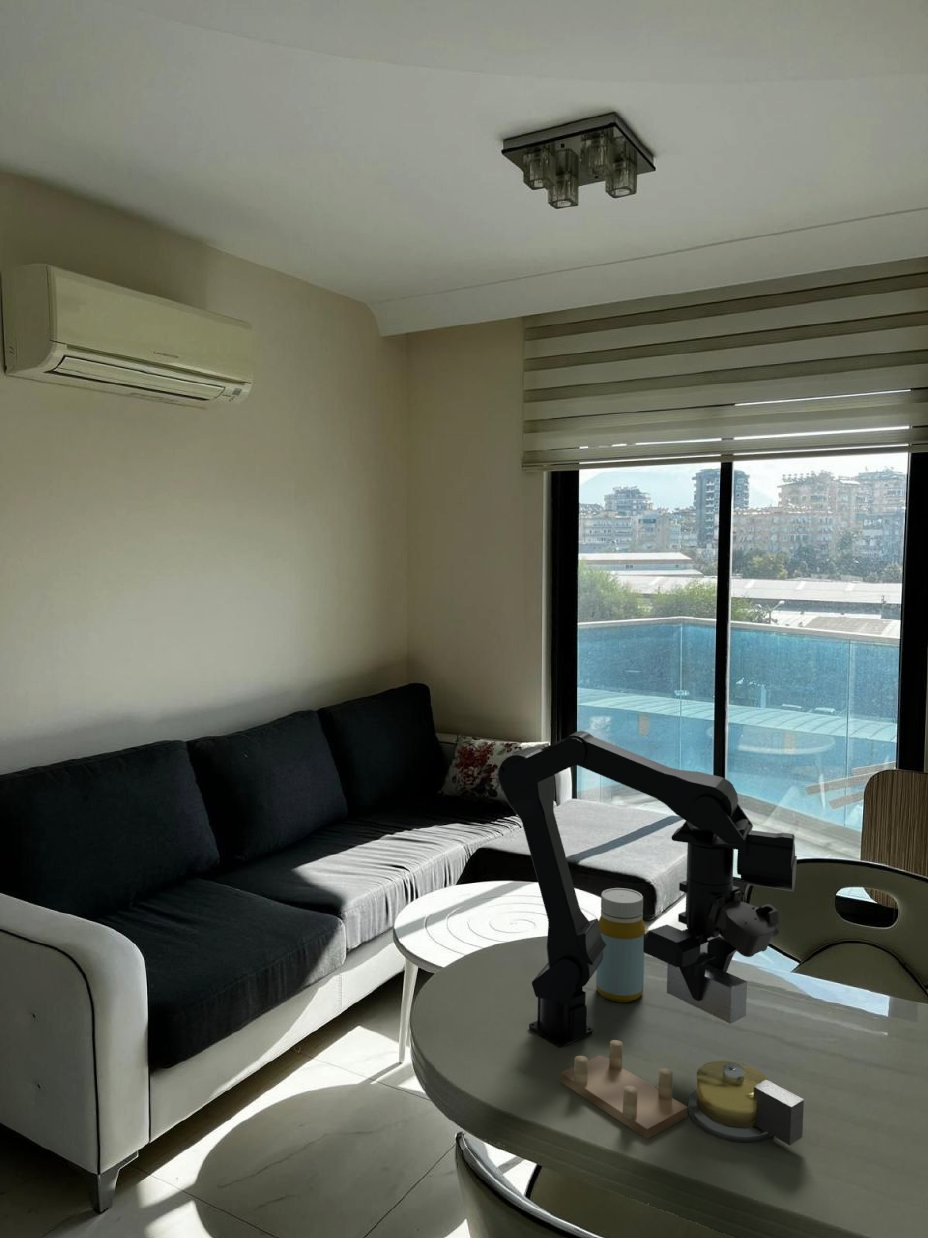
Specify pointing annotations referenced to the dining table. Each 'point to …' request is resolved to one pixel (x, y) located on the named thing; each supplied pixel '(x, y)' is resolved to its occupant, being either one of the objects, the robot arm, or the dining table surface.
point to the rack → (625, 1092)
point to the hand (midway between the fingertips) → (705, 996)
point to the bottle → (621, 945)
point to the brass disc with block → (749, 1102)
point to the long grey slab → (712, 993)
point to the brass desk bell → (723, 1131)
